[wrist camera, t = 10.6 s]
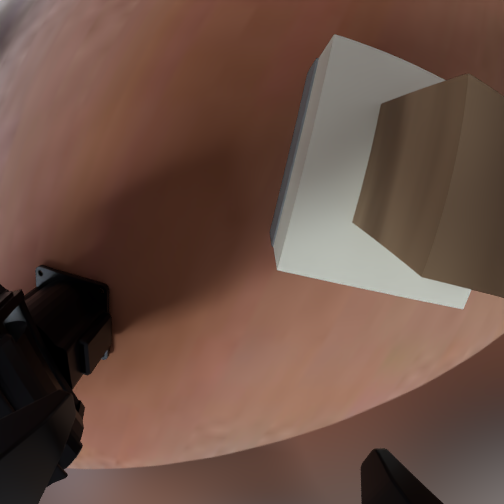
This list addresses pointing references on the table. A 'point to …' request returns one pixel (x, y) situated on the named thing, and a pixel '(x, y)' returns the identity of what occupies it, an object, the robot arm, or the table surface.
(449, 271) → the brown faceted block
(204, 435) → the table surface
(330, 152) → the tower top block
